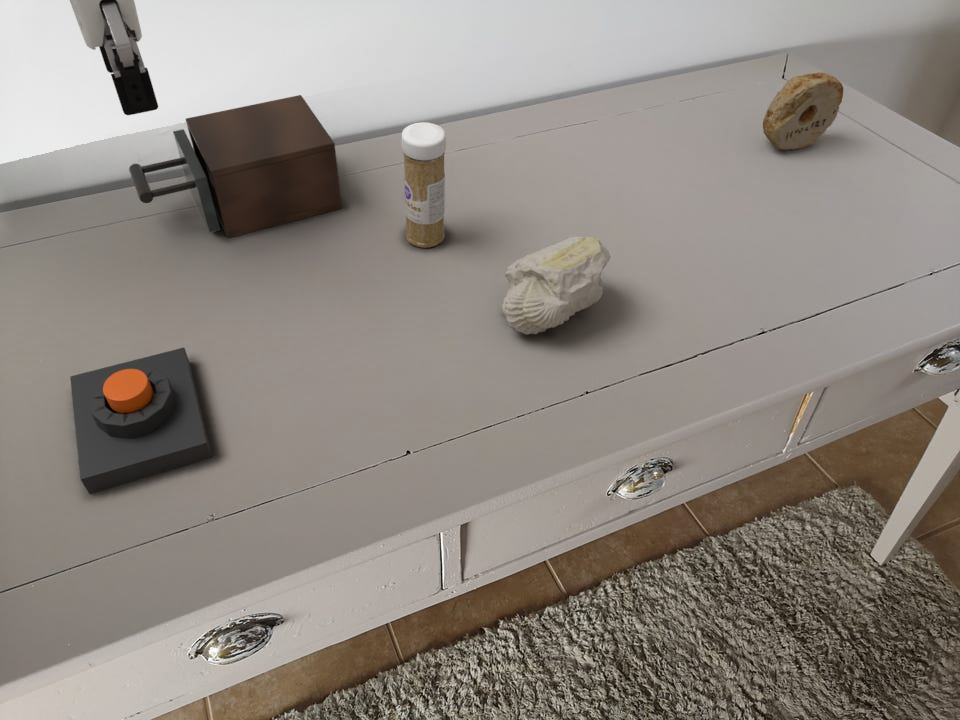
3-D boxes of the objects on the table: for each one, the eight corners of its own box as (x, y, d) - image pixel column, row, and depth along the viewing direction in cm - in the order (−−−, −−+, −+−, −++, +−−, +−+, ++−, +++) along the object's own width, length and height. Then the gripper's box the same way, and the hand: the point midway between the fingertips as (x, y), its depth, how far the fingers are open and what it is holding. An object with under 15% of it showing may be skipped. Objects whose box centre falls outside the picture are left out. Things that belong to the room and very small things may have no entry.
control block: (78, 391, 72) (62, 362, 69) (189, 363, 75) (179, 333, 72) (89, 494, 64) (72, 466, 61) (212, 458, 67) (202, 429, 64)
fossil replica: (480, 332, 79) (572, 368, 77) (487, 276, 72) (588, 314, 71) (523, 256, 86) (608, 288, 84) (534, 199, 79) (626, 232, 78)
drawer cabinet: (227, 238, 88) (210, 171, 81) (202, 184, 94) (185, 118, 88) (342, 208, 92) (334, 142, 86) (310, 158, 99) (300, 94, 93)
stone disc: (811, 131, 108) (838, 62, 101) (829, 144, 106) (857, 75, 98) (749, 143, 105) (772, 73, 98) (765, 158, 103) (790, 87, 96)
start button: (107, 388, 67) (100, 375, 66) (150, 377, 68) (144, 363, 67) (111, 418, 65) (104, 405, 64) (155, 406, 66) (150, 393, 65)
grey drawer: (156, 246, 85) (137, 192, 80) (137, 195, 91) (119, 142, 86) (316, 205, 91) (309, 152, 86) (289, 159, 97) (280, 108, 92)
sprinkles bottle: (397, 235, 89) (391, 130, 79) (427, 220, 91) (426, 115, 81) (423, 255, 87) (420, 149, 77) (453, 238, 89) (455, 133, 79)
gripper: (12, -130, 69) (79, 59, 82) (35, -64, 58) (108, 140, 71) (101, -139, 71) (153, 46, 84) (138, -76, 61) (191, 123, 74)
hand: (132, 89), depth 78 cm, fingers open, 8 cm apart
